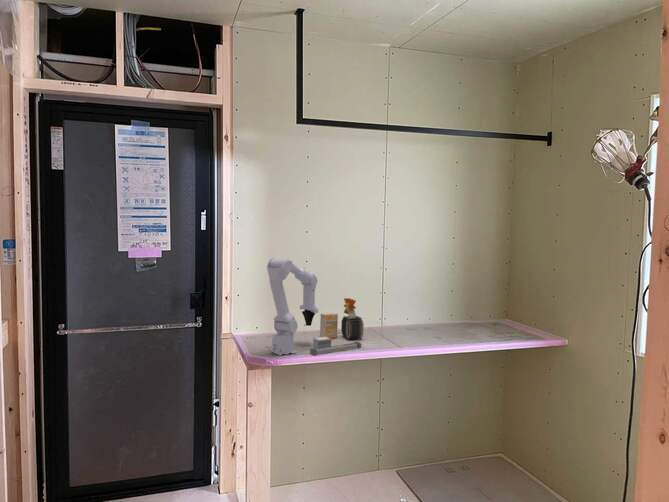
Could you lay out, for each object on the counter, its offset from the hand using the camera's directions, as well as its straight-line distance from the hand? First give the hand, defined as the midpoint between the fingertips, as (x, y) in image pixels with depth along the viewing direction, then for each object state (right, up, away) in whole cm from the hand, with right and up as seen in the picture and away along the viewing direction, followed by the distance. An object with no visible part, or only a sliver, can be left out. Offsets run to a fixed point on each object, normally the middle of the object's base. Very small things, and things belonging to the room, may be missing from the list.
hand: (308, 325), depth 236 cm
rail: (+14, -10, -11) cm, 20 cm away
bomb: (+22, -9, +16) cm, 29 cm away
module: (+7, -10, -10) cm, 16 cm away
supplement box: (+10, -9, +14) cm, 20 cm away
